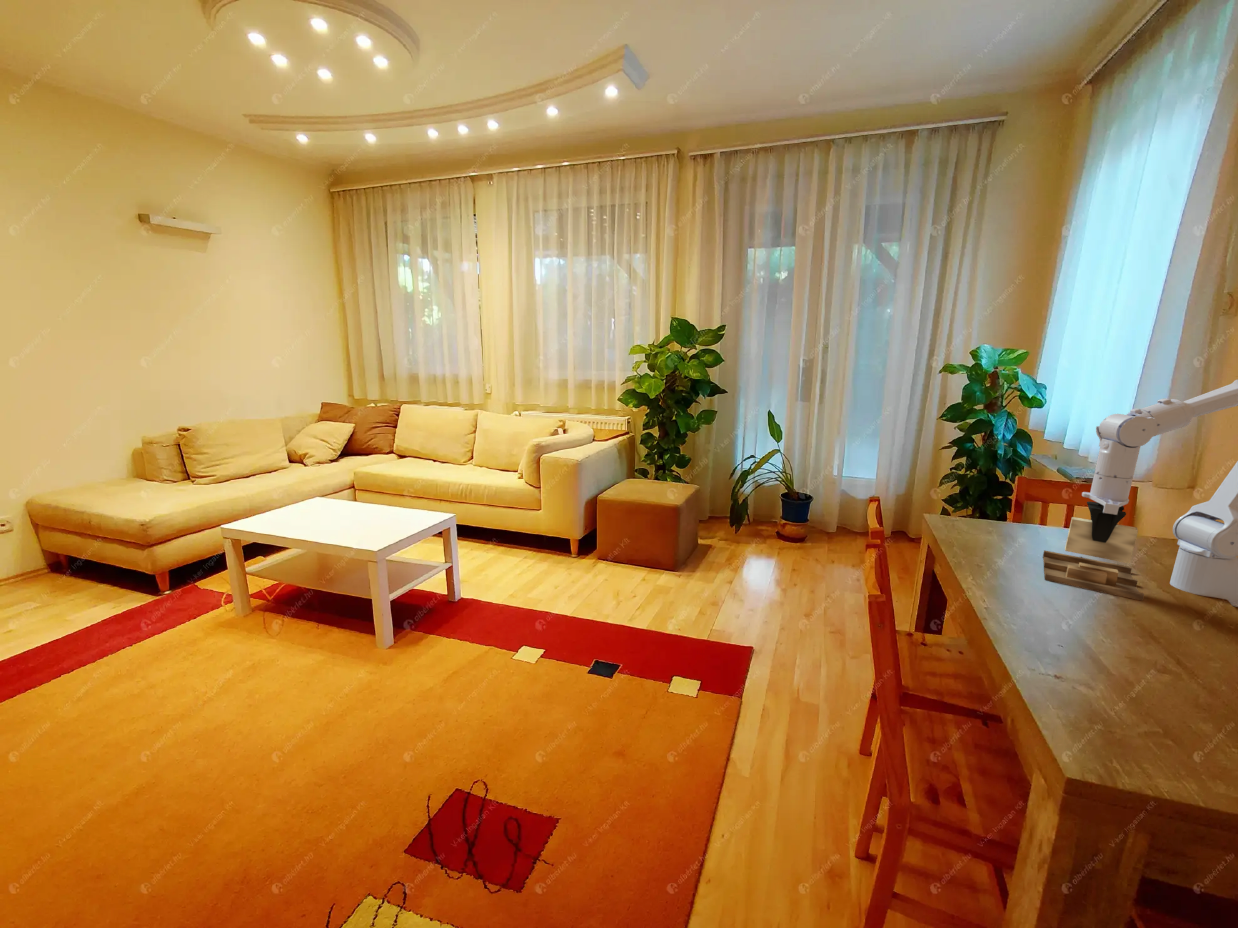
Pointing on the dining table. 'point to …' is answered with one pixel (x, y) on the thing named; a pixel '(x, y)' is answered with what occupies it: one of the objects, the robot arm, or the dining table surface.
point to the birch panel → (1113, 549)
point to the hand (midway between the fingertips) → (1098, 539)
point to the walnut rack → (1057, 573)
